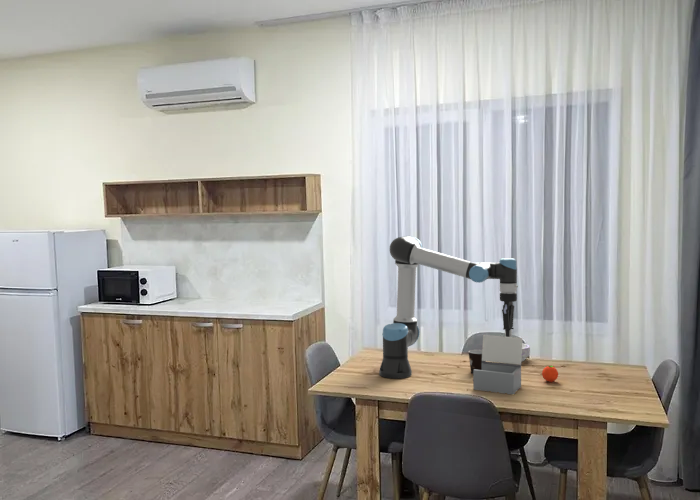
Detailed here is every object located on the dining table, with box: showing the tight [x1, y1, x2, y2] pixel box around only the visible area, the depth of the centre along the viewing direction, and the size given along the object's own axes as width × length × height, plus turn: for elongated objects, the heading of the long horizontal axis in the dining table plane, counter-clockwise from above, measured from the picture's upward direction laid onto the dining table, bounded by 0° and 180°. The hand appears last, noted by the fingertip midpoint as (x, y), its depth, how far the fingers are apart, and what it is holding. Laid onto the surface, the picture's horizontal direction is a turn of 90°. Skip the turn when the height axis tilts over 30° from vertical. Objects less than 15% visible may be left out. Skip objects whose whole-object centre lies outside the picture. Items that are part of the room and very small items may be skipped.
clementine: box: [541, 365, 559, 383], centre depth 277 cm, size 8×7×7 cm
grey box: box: [472, 361, 522, 395], centre depth 268 cm, size 17×13×10 cm
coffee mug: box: [467, 349, 482, 374], centre depth 295 cm, size 12×9×10 cm
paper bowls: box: [521, 342, 531, 363], centre depth 318 cm, size 15×15×8 cm
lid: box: [481, 334, 523, 366], centre depth 274 cm, size 17×12×2 cm
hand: (508, 343), depth 283 cm, fingers closed
